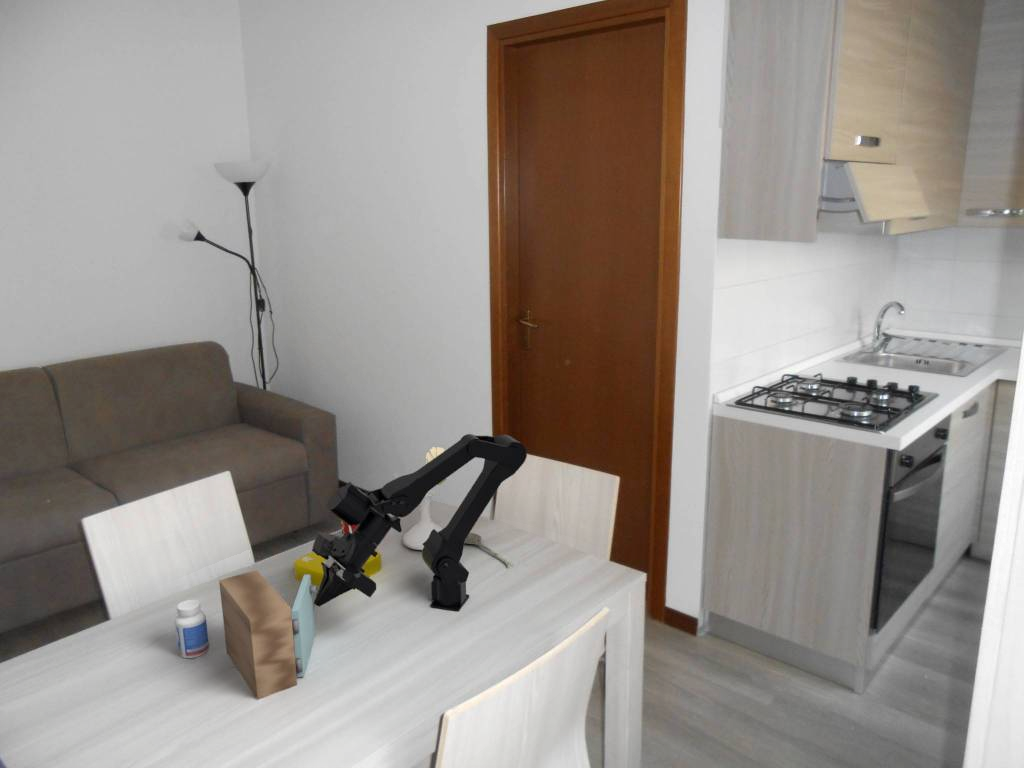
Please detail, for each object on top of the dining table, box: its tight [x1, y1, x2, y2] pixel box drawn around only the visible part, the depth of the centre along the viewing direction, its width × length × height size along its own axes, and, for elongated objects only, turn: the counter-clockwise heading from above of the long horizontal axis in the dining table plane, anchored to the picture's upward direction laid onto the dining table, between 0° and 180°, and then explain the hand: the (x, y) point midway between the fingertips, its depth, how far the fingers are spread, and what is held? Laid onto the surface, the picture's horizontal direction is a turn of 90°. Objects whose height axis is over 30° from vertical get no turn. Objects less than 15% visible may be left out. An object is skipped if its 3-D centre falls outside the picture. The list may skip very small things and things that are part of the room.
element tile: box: [293, 549, 382, 588], centre depth 181 cm, size 15×15×5 cm
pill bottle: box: [174, 599, 210, 659], centre depth 149 cm, size 6×5×10 cm
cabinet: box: [218, 569, 298, 700], centre depth 143 cm, size 7×18×15 cm, turn 36°
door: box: [291, 574, 318, 678], centre depth 146 cm, size 15×2×13 cm, turn 6°
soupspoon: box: [464, 532, 514, 569], centre depth 191 cm, size 22×3×7 cm
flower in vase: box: [402, 446, 447, 551], centre depth 194 cm, size 13×11×25 cm
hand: (316, 605), depth 152 cm, fingers closed
